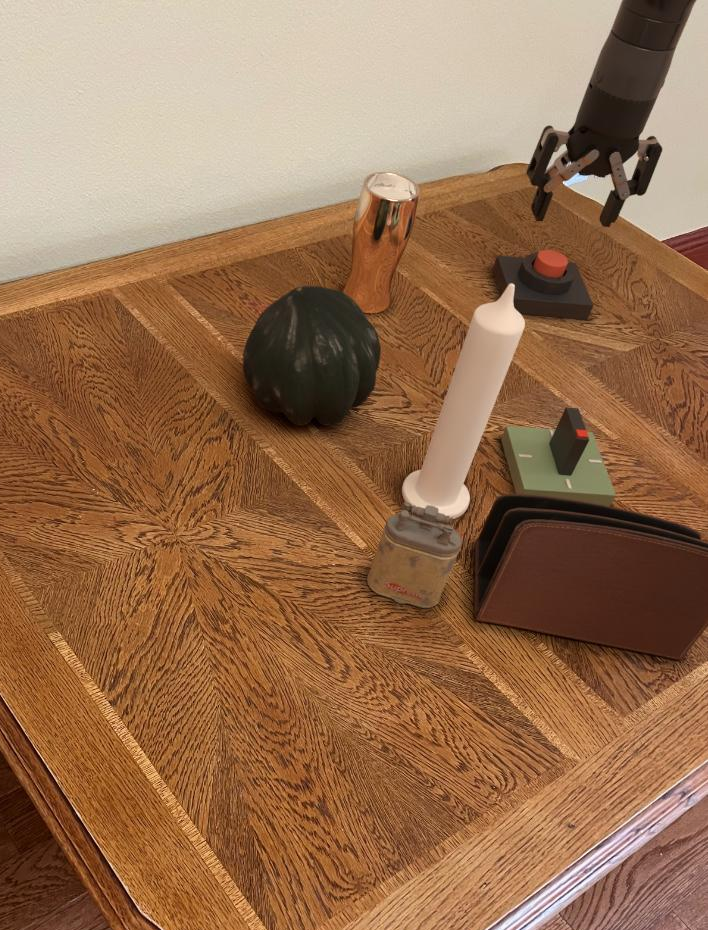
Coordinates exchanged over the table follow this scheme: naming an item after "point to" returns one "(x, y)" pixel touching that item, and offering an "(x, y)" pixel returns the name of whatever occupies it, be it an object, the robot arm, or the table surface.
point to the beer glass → (380, 237)
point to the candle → (467, 407)
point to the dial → (569, 441)
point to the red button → (550, 263)
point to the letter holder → (592, 574)
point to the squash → (312, 356)
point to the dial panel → (554, 468)
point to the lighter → (414, 556)
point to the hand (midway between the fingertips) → (570, 220)
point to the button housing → (543, 288)
